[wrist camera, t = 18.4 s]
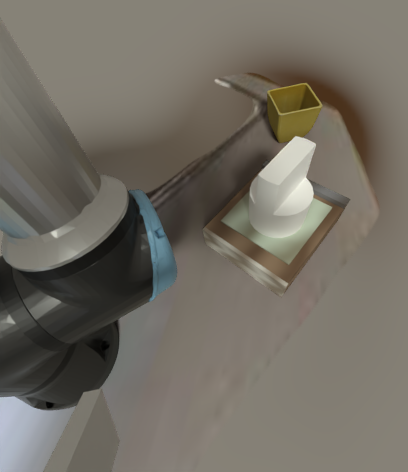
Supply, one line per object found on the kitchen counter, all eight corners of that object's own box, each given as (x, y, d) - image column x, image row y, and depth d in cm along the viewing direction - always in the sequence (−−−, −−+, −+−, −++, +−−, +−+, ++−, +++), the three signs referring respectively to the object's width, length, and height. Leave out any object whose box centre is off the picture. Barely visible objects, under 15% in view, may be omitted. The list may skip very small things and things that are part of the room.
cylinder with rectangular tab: (284, 248, 39) (300, 198, 29) (237, 219, 43) (237, 165, 32) (315, 210, 42) (339, 152, 32) (268, 185, 46) (277, 127, 35)
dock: (205, 243, 47) (201, 226, 42) (263, 181, 53) (266, 159, 48) (281, 297, 40) (287, 284, 35) (337, 219, 46) (350, 199, 41)
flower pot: (312, 143, 57) (323, 105, 50) (274, 151, 57) (279, 114, 50) (298, 120, 62) (307, 82, 54) (263, 127, 62) (266, 90, 54)
